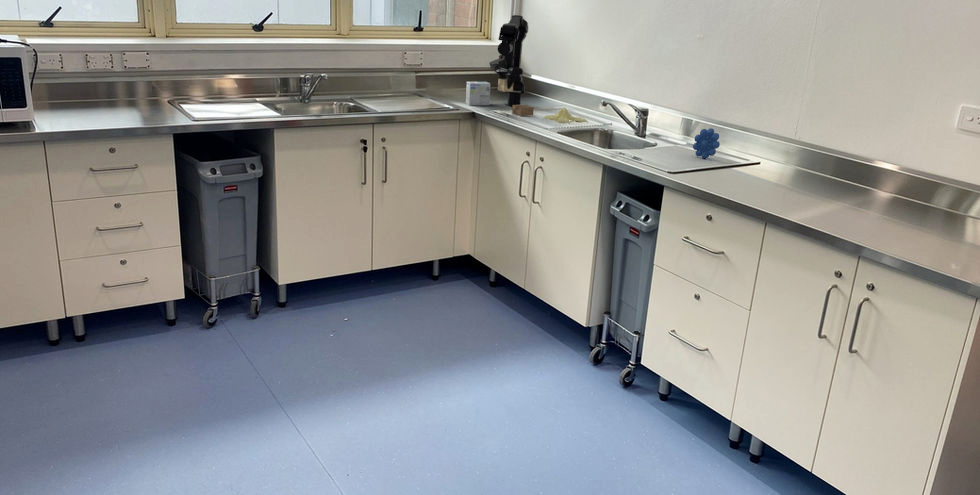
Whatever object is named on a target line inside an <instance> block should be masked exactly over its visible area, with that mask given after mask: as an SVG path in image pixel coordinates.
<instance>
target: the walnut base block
mask: <svg viewBox="0 0 980 495" xmlns="http://www.w3.org/2000/svg"><path fill="white" fill-rule="evenodd" d="M511 114H512V115H515V116H518V115H519V116H518V117H526V116H525V115H533V116H534V106H531V105H527V104H520V105H513V107H512V110H511Z"/></svg>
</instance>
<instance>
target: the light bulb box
mask: <svg viewBox="0 0 980 495" xmlns="http://www.w3.org/2000/svg"><path fill="white" fill-rule="evenodd" d="M465 91H466V92H465V104H467V105H468V106H490V99H491V82H488V81H466V90H465Z"/></svg>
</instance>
